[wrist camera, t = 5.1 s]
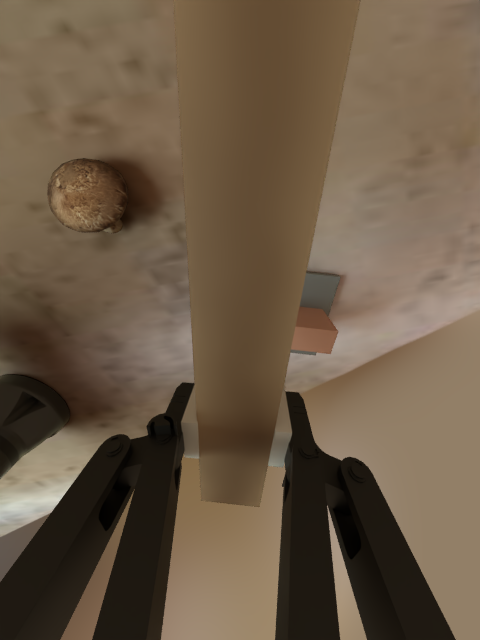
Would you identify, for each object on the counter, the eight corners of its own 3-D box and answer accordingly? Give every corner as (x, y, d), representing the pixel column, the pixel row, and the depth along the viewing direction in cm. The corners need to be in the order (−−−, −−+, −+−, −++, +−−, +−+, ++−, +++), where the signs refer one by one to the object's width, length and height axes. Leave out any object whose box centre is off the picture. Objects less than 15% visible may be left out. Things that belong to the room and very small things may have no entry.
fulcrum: (236, 342, 32) (232, 373, 26) (244, 265, 27) (241, 280, 21) (313, 351, 32) (328, 384, 26) (337, 275, 27) (362, 293, 20)
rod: (212, 443, 16) (201, 500, 13) (208, -17, 6) (157, -270, 3) (258, 448, 16) (259, 507, 13) (330, -15, 6) (414, -273, 3)
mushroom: (120, 260, 25) (68, 228, 18) (76, 233, 26) (16, 195, 20) (157, 205, 25) (119, 156, 19) (112, 182, 27) (64, 131, 21)
